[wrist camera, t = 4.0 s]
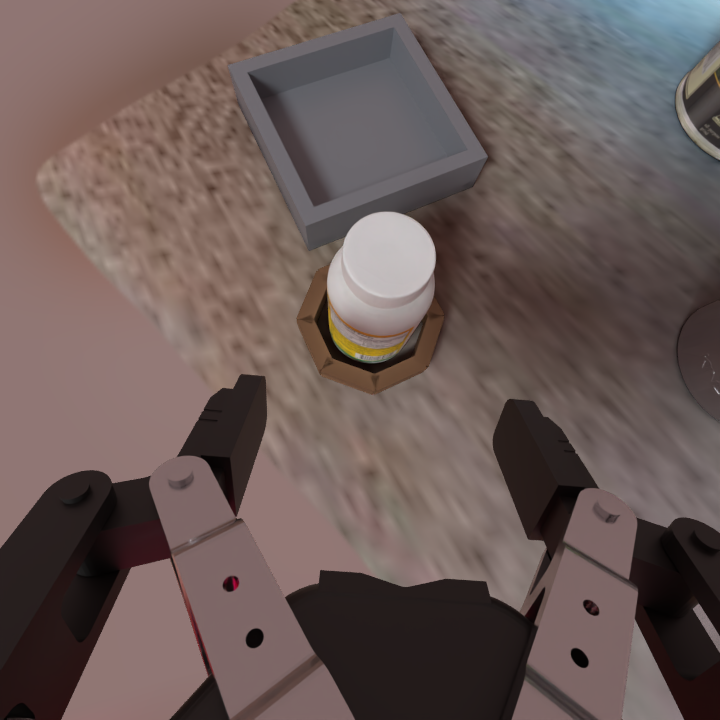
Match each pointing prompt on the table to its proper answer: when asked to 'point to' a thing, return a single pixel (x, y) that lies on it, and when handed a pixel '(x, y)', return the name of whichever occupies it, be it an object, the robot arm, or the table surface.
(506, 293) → the table surface
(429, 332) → the holder ring
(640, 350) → the table surface
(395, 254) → the supplement bottle
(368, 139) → the tray
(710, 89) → the coffee can
